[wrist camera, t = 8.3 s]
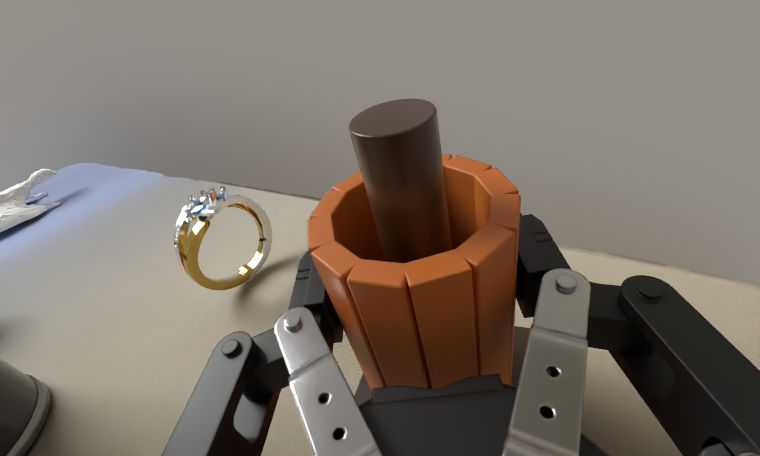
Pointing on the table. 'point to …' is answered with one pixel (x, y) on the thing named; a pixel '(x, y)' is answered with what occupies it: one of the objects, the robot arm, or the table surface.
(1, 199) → the white dragon
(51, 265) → the table surface
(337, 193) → the orange stave barrel
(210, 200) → the ring
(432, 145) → the brown peg stand
